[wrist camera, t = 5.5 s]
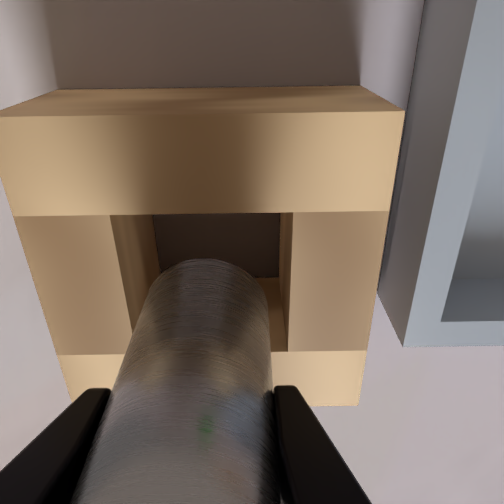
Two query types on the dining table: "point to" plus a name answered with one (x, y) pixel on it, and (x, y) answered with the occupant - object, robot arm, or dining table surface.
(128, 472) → the pin
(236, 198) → the square wooden frame
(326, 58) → the dining table surface
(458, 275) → the tray
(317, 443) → the robot arm
